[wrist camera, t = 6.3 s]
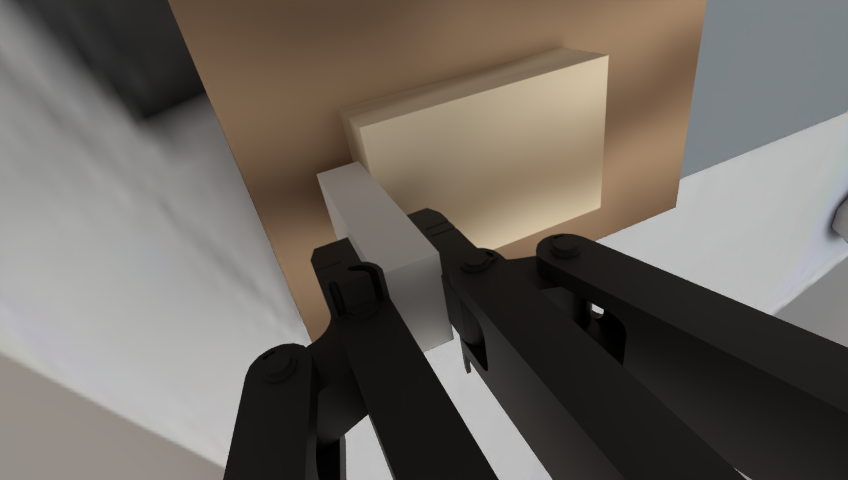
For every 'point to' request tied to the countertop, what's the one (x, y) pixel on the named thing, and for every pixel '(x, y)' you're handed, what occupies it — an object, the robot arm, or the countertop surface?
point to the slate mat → (764, 75)
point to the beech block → (492, 145)
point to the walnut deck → (421, 65)
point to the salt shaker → (842, 221)
